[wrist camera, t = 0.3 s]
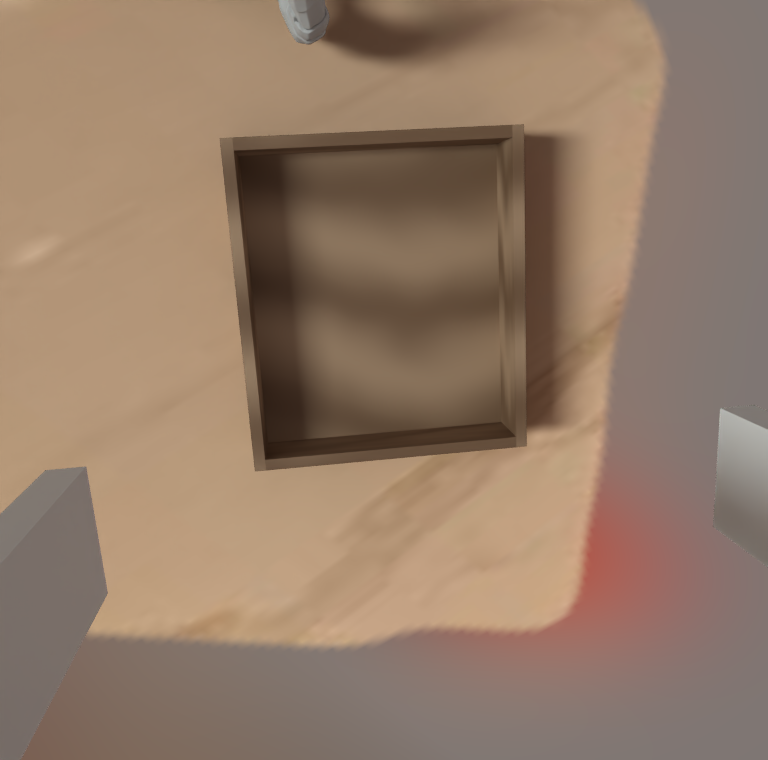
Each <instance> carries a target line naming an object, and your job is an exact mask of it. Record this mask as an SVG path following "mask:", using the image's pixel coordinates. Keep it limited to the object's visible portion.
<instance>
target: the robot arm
mask: <svg viewBox="0 0 768 760" xmlns="http://www.w3.org/2000/svg"><path fill="white" fill-rule="evenodd" d="M713 527H714V528H716V529H717V530H718V531H720V532H721V533H722V534H724V535H725V536H726V537H728V538H729V539H730V540H732V541H733V542H735V543H736V544H737V545H739V546H740V547H741V548H742V549H744V550H745V551H746V552H748V553H749V554H750V555H752V556H753V557H754V558H756V559H757V560H759V561H760V562H761V563H762V564H764V565H765V566H766V567H768V411H767V410H764V409H762V408H760V407H757V406H755V405H749V406H738V407H727V408H720V421H719V438H718V454H717V471H716V487H715V504H714V520H713ZM107 594H108V592H107V586H106V580H105V574H104V568H103V562H102V557H101V551H100V545H99V539H98V533H97V527H96V521H95V516H94V510H93V504H92V498H91V492H90V486H89V480H88V475H87V469H86V467H77V468H66V469H55V470H45V471H44V472H43V473H42V474H41V475H40V476H39V477H38V478H37V479H36V480H35V481H34V482H33V483H32V484H31V485H30V486H29V487H28V488H27V489H26V490H25V491H24V492H23V493H22V494H21V495H20V496H19V497H17V498H16V499H15V500H14V501H13V502H12V503H11V504H10V505H9V506H8V507H7V508H6V509H5V510H4V511H3V512H2V513H1V514H0V760H21V758H22V756H23V754H24V752H25V750H26V748H27V747H28V745H29V743H30V741H31V739H32V737H33V735H34V733H35V731H36V729H37V727H38V725H39V724H40V722H41V720H42V718H43V716H44V714H45V712H46V710H47V708H48V706H49V704H50V703H51V701H52V699H53V697H54V695H55V693H56V691H57V689H58V687H59V685H60V684H61V682H62V680H63V678H64V676H65V674H66V672H67V670H68V668H69V666H70V664H71V662H72V660H73V659H74V657H75V655H76V653H77V651H78V649H79V647H80V645H81V643H82V641H83V640H84V638H85V636H86V634H87V632H88V630H89V628H90V626H91V624H92V622H93V620H94V619H95V617H96V615H97V613H98V611H99V609H100V607H101V605H102V603H103V601H104V599H105V598H106V596H107Z"/></svg>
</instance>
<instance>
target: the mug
mask: <svg viewBox="0 0 768 760" xmlns="http://www.w3.org/2000/svg"><path fill="white" fill-rule="evenodd" d="M278 2H279V7H280V10H281V13H282V15H283V18H284V20H285V22H286V25H287V27H288V29H289V31H290V33H291V34H292V36H293V38H294V39H295V40H296V41H297V42H298V43H303V44H312V43H314V42H316V41H317V40H319V39H320V38H322V37H323V36H324V35H325V32H326V27H327V25H328V22H329V13H328V10H327V8H326V6H325V1H324V0H278Z"/></svg>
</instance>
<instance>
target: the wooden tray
mask: <svg viewBox="0 0 768 760" xmlns="http://www.w3.org/2000/svg"><path fill="white" fill-rule="evenodd" d="M220 146H221V155H222V165H223V174H224V184H225V193H226V202H227V212H228V221H229V231H230V240H231V250H232V259H233V268H234V278H235V287H236V297H237V306H238V316H239V325H240V335H241V344H242V353H243V363H244V372H245V382H246V391H247V401H248V410H249V420H250V429H251V438H252V448H253V457H254V467H255V471H265V470H276V469H286V468H297V467H308V466H319V465H330V464H340V463H351V462H362V461H373V460H383V459H394V458H405V457H416V456H427V455H437V454H448V453H459V452H470V451H480V450H491V449H502V448H513V447H524V446H527V426H526V309H525V191H524V124H522V125H500V126H478V127H456V128H434V129H411V130H389V131H367V132H345V133H323V134H301V135H279V136H256V137H234V138H220Z"/></svg>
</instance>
